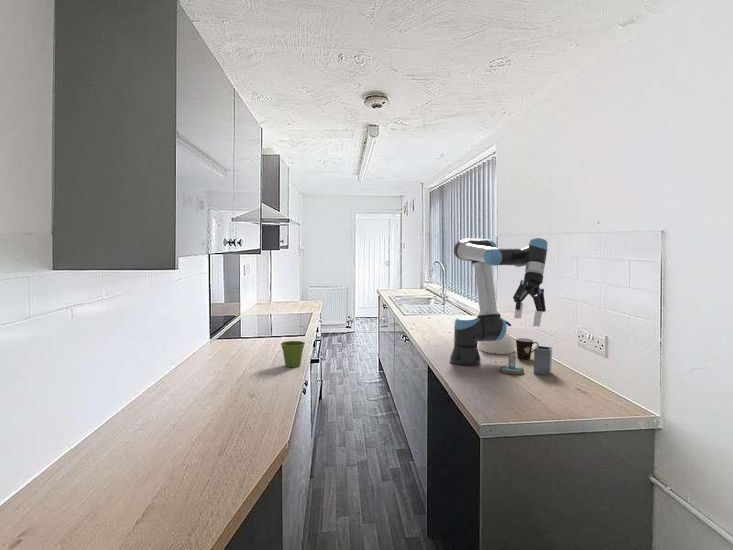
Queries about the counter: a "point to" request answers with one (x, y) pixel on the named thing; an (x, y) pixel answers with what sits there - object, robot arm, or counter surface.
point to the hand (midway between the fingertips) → (527, 322)
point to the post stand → (511, 367)
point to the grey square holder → (542, 360)
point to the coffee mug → (524, 348)
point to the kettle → (498, 345)
